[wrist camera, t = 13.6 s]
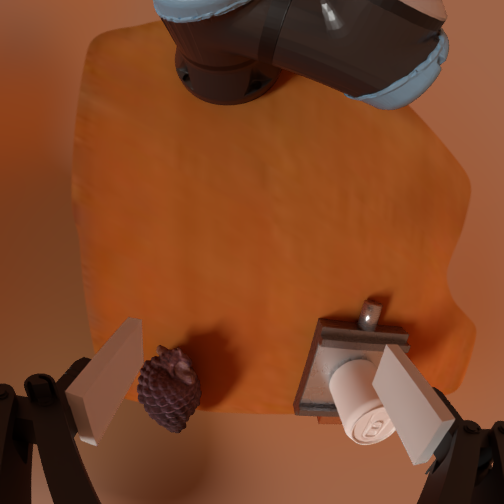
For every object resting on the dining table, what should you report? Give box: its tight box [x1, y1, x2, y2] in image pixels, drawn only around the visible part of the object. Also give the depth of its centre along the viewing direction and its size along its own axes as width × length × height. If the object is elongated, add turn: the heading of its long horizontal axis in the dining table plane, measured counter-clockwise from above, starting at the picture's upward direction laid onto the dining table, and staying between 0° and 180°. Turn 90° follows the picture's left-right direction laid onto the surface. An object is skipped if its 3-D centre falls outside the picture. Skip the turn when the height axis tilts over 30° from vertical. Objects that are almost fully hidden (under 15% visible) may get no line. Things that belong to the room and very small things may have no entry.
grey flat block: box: [293, 300, 410, 424], centre depth 43 cm, size 23×15×4 cm, turn 170°
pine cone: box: [137, 345, 201, 433], centre depth 41 cm, size 18×10×10 cm, turn 174°
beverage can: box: [329, 359, 396, 445], centre depth 37 cm, size 8×8×12 cm
